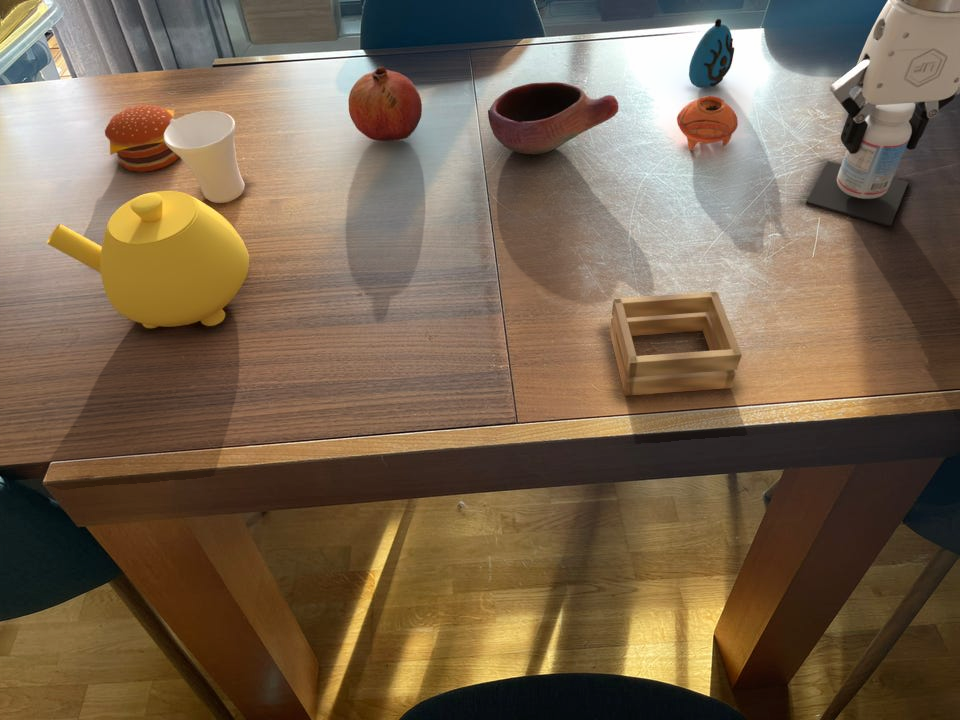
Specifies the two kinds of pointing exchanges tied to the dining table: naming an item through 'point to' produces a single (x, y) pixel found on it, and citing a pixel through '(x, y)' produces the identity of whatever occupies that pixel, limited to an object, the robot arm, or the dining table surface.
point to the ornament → (712, 57)
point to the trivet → (866, 209)
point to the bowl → (546, 116)
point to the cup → (208, 152)
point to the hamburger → (141, 138)
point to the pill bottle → (877, 152)
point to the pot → (707, 121)
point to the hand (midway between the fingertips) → (877, 144)
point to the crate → (678, 367)
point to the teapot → (164, 260)
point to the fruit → (385, 105)
